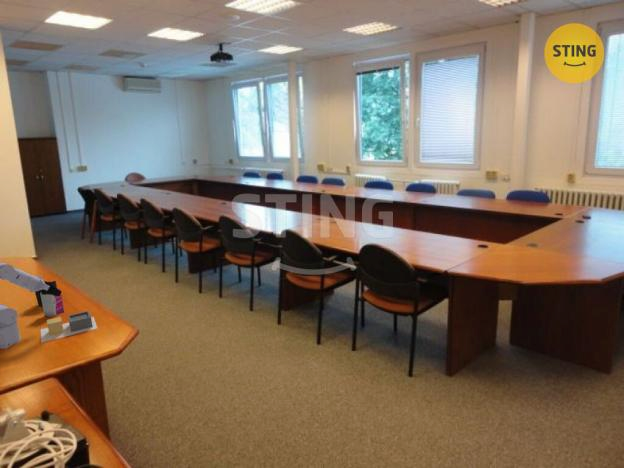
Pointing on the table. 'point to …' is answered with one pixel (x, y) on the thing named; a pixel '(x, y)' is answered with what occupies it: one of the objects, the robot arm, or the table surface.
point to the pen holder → (40, 294)
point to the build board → (67, 332)
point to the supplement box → (52, 305)
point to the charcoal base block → (80, 321)
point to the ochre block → (55, 326)
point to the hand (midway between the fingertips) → (55, 292)
